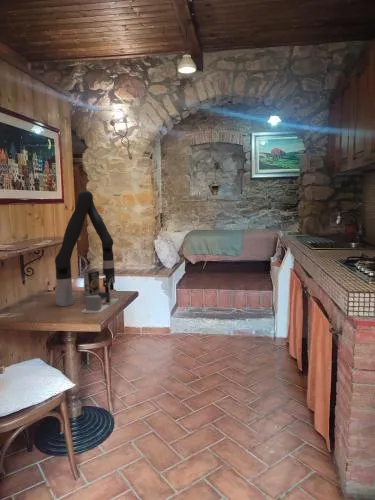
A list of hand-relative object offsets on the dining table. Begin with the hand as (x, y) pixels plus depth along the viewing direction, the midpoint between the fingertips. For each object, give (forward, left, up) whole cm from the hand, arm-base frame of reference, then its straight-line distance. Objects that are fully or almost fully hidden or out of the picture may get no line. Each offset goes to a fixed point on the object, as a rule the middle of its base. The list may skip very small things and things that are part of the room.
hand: (109, 291), depth 248 cm
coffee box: (-20, +17, -6) cm, 27 cm away
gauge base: (0, -15, -6) cm, 16 cm away
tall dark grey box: (+1, -15, -5) cm, 16 cm away
